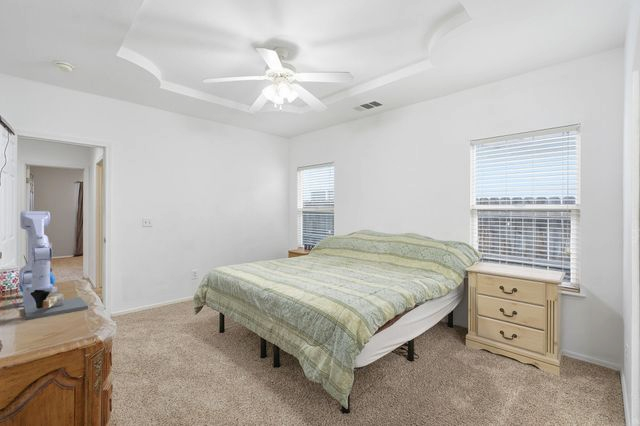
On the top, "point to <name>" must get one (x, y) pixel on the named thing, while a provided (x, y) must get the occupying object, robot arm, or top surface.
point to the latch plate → (55, 308)
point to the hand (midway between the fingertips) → (40, 307)
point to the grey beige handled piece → (53, 301)
